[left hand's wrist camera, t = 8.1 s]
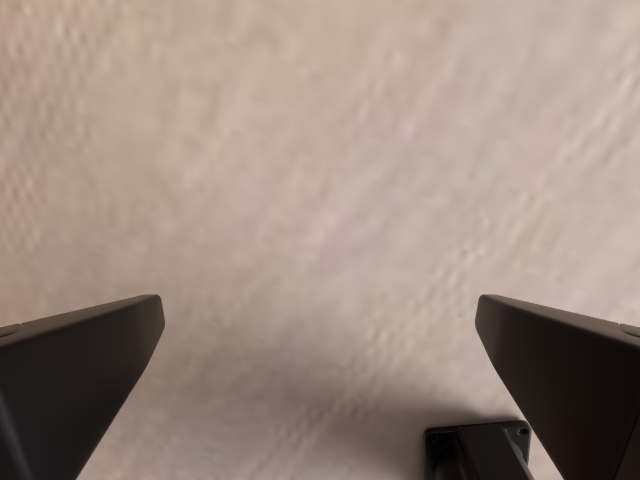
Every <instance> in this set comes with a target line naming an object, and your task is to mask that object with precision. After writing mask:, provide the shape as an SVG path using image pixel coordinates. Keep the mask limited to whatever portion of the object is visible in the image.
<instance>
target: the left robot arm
mask: <svg viewBox="0 0 640 480" xmlns="http://www.w3.org/2000/svg"><path fill="white" fill-rule="evenodd" d="M164 326H165V319H164V313H163V307H162V301H161V298H160V296H159V295H141V296H137V297H132V298H128V299H124V300H119V301H115V302H111V303H107V304H102V305H98V306H94V307H89V308H85V309H81V310H77V311H72V312H68V313H64V314H59V315H55V316H51V317H46V318H42V319H38V320H34V321H29V322H25V323H22V324H21V325H20V324H14V325H10V326H5V327H1V328H0V480H76V479H77V477H78V476H79V474H80V472H81V471H82V469H83V468H84V466H85V464H86V463H87V461H88V460H89V458H90V456H91V455H92V453H93V452H94V450H95V448H96V447H97V445H98V444H99V442H100V440H101V439H102V437H103V436H104V434H105V432H106V431H107V429H108V428H109V426H110V424H111V423H112V421H113V420H114V418H115V416H116V415H117V413H118V412H119V410H120V409H121V407H122V405H123V404H124V402H125V401H126V399H127V397H128V396H129V394H130V393H131V391H132V389H133V388H134V386H135V385H136V383H137V381H138V380H139V378H140V377H141V375H142V373H143V372H144V370H145V368H146V367H147V365H148V363H149V361H150V358H151V356H152V354H153V352H154V350H155V348H156V345H157V343H158V341H159V339H160V337H161V334H162V332H163V330H164ZM475 326H476V330H477V332H478V334H479V337H480V339H481V341H482V343H483V345H484V348H485V350H486V352H487V354H488V356H489V358H490V361H491V363H492V365H493V367H494V368H495V370H496V372H497V373H498V375H499V377H500V378H501V380H502V381H503V383H504V385H505V386H506V388H507V389H508V391H509V393H510V394H511V396H512V397H513V399H514V400H515V402H516V404H517V405H518V407H519V408H520V410H521V412H522V413H523V415H524V416H525V418H526V420H527V421H528V423H529V424H530V426H531V428H532V429H533V431H534V432H535V434H536V436H537V437H538V439H539V440H540V442H541V444H542V445H543V447H544V448H545V450H546V452H547V453H548V455H549V456H550V458H551V460H552V461H553V463H554V464H555V466H556V468H557V469H558V471H559V472H560V474H561V476H562V477H563V479H564V480H640V328H639V327H635V326H630V325H626V324H620V325H619V324H618V323H615V322H611V321H607V320H602V319H598V318H594V317H589V316H585V315H581V314H576V313H572V312H568V311H564V310H559V309H555V308H551V307H546V306H542V305H538V304H533V303H529V302H525V301H521V300H516V299H512V298H508V297H503V296H499V295H481V296H480V298H479V301H478V307H477V313H476V318H475ZM528 423H527V422H526V421H523V420H519V421H507V422H496V423H484V424H472V425H460V426H448V427H437V428H429V429H427V430H426V431H425V432H424V473H425V480H534V478H533V476H532V474H531V472H530V470H529V468H528V459H529V450H530V441H531V432H532V431H531V428H530V426H529V424H528ZM432 436H433V437H432Z"/></svg>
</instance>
